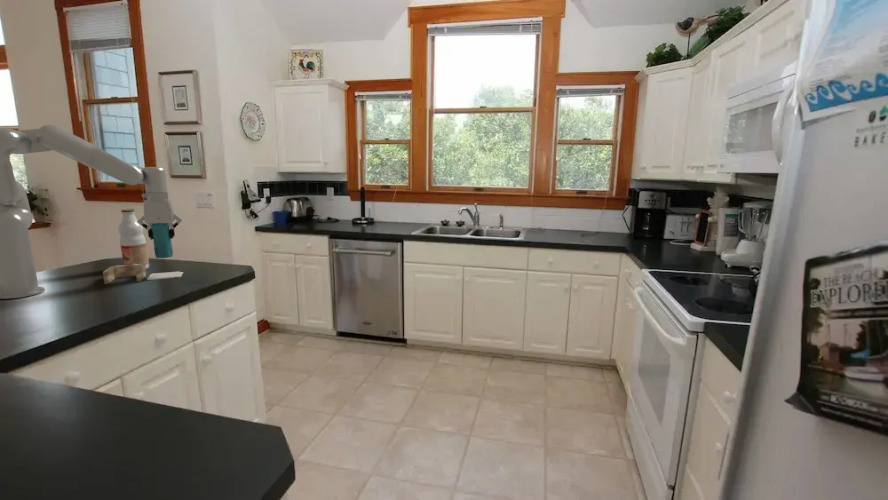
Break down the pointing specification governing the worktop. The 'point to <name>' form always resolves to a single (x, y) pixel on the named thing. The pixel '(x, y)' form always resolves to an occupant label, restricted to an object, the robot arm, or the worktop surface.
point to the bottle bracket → (124, 272)
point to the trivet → (164, 275)
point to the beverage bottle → (162, 240)
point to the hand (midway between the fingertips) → (162, 238)
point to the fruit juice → (132, 240)
